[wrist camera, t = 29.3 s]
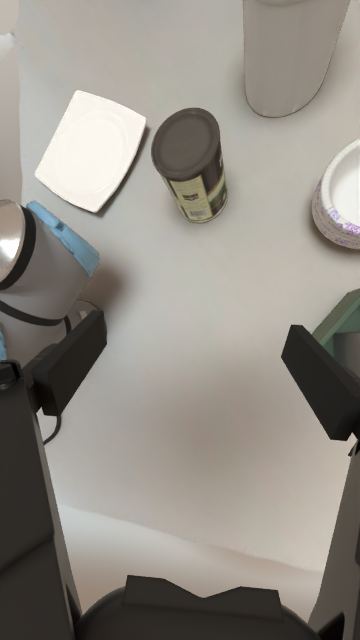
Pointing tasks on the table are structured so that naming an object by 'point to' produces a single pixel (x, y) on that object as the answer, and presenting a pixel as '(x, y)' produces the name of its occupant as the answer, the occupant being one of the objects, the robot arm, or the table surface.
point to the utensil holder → (288, 51)
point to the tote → (340, 321)
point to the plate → (91, 150)
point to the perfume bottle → (347, 350)
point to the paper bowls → (340, 198)
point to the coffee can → (192, 163)
